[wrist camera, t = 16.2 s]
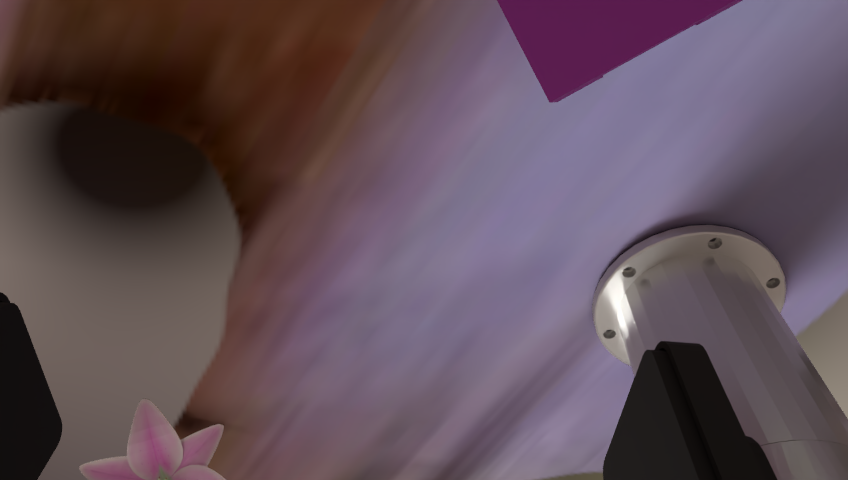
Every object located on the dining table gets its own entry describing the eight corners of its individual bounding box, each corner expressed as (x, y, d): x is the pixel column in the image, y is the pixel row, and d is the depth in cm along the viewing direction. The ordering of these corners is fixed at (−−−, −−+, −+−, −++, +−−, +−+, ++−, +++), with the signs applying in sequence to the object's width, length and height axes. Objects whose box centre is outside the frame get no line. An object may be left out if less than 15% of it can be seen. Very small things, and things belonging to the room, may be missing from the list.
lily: (278, 456, 58) (257, 510, 49) (183, 543, 58) (143, 614, 49) (183, 361, 57) (142, 398, 47) (86, 451, 57) (26, 505, 48)
